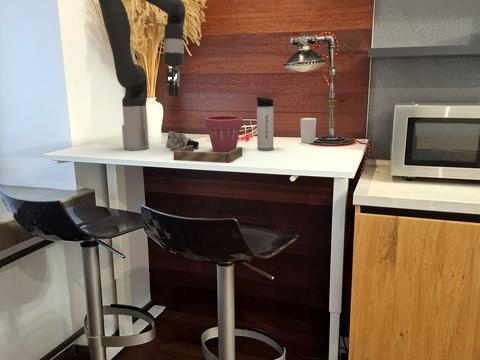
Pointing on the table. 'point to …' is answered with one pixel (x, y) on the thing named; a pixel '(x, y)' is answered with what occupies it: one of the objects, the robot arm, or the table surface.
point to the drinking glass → (308, 130)
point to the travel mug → (264, 124)
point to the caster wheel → (179, 141)
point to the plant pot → (223, 132)
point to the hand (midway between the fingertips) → (173, 96)
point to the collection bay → (206, 155)
